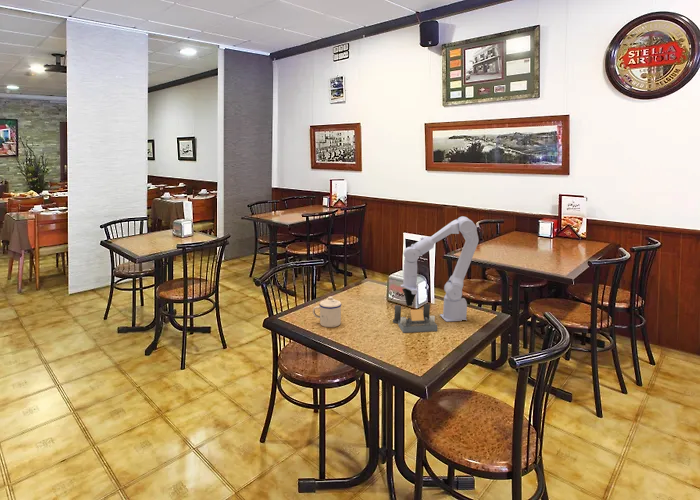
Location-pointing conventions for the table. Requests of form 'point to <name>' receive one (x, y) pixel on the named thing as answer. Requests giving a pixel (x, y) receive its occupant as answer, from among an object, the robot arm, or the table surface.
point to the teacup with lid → (329, 312)
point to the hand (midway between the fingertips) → (409, 305)
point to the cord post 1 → (397, 314)
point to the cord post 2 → (426, 310)
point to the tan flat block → (417, 316)
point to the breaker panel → (417, 325)
